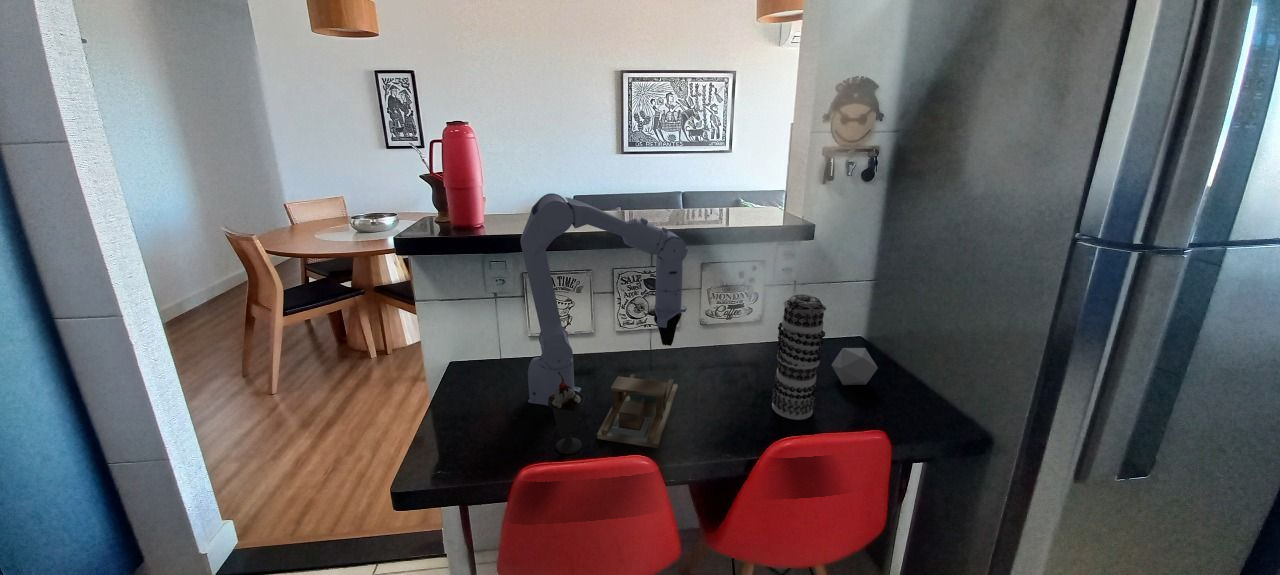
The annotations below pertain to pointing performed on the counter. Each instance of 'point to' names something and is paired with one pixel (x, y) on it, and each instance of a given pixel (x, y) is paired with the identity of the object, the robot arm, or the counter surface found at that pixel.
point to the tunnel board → (651, 409)
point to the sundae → (566, 416)
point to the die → (854, 366)
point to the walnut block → (631, 415)
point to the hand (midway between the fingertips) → (667, 344)
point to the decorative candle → (798, 356)
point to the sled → (645, 423)
